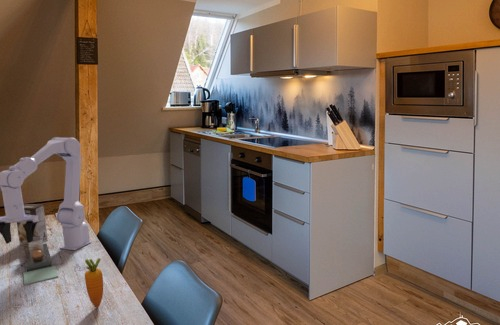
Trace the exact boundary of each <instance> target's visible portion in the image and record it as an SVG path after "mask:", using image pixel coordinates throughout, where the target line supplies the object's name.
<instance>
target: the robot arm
mask: <svg viewBox="0 0 500 325" xmlns="http://www.w3.org/2000/svg"><path fill="white" fill-rule="evenodd" d="M53 155H58V156H59V157H61V158H62V160H64V161H65V174H64V175H65V179H64V192H63V201H62V202H61V203H60V204H59V206H58V211H57V213H56V220H57V222H58V223H59V224H60V226H61V228H62V236H63V245H61V246H59V249H61V250H69V251H76V250H79V249H81V248H83V247H84V246H86V245H89V244H90V243H92V240H91V239H90V231H89V227H88V226H89V225H88V224H87V223H86V222H85V220H86V213H85V209H84V208H85V206H84V205H83V204H82V203H81V201H80V187H81V170H82V155H81V143H80V142H79V140H78V139H77V138H75V137H58V136H54V137H52V138H51V139H50V140H48V141H47V143H46V144H45V145H44V146H43V147H41V148H40V149H39V150H38V151H37V152H35V153H34V154H32V156H25V157H21V158H19V161H18V162H17V163H15V164H14V165H10V166H9V167H8V169H6V170H2V171H0V192H1V194H2V198H3V199H2V200H3V206H4V212H5V215H3V216H0V234H1V236H2V238H3V240H4V242H5V244H10V243H11V242H12V232H11V223H17V222H26V223H25V224H24V225H23V227H24V229H25V232H26V236H27V241H28V243H30V242H32V241H33V234H34V230H35V227H36V224H37V221H39V220H38V215H25V212H24V205H23V204H24V200H23V194H22V187H21V186H22V185H23V183H24V181H25V179H27V178H28V177H29V176H30V175H32V174H33V173H34V172H36V171H37V170H38V165H40V164H41V163H43V162H44V161H45V160H46V159H49V158H50V157H51V156H53Z"/></svg>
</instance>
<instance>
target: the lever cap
mask: <svg viewBox="0 0 500 325" xmlns="http://www.w3.org/2000/svg"><path fill="white" fill-rule="evenodd" d="M43 244H44V243H43V242H42V238H41V237H40V236H35V237H33V241H32V242H30V243H29V245H28V247H29V250H30V257H33V256H32V252H33V251H35V250H42V254H43V255H44V249H43Z"/></svg>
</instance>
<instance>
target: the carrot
mask: <svg viewBox="0 0 500 325" xmlns="http://www.w3.org/2000/svg"><path fill="white" fill-rule="evenodd" d="M101 259H102V258H100V257H98V258H97V259H96V261H95V262H94V261H93V259H92V258H90V259H88V258H86V259H85V261H84V263H85V264H86V265H87V266H86V267H85V268H86V269H88V270H87V271H85V272H84V281H85V288H86V292H87V295H88V299H89V301H90V303H91V304H92V305H93V307H94V308H96V309H98V308H100V306H101V303H102V300H103V295H104V294H103V293H104V278H103V271H102V269H101V268H98V266H99V263H100V262H101Z"/></svg>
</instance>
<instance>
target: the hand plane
mask: <svg viewBox="0 0 500 325" xmlns="http://www.w3.org/2000/svg"><path fill="white" fill-rule="evenodd" d="M48 247H49V246H48V243H46V242H44V243H43V249H44V255H43V254H42V250H35V251H33V252H32V256H33V257H30V250H29V246H25V247H23V252H24V260H25V269H26V272H29V271H34V270H38V269H43V268H47V267H52V266H53V265H52V264H53V263H52V258H51V254H50V250H49V248H48Z"/></svg>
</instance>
